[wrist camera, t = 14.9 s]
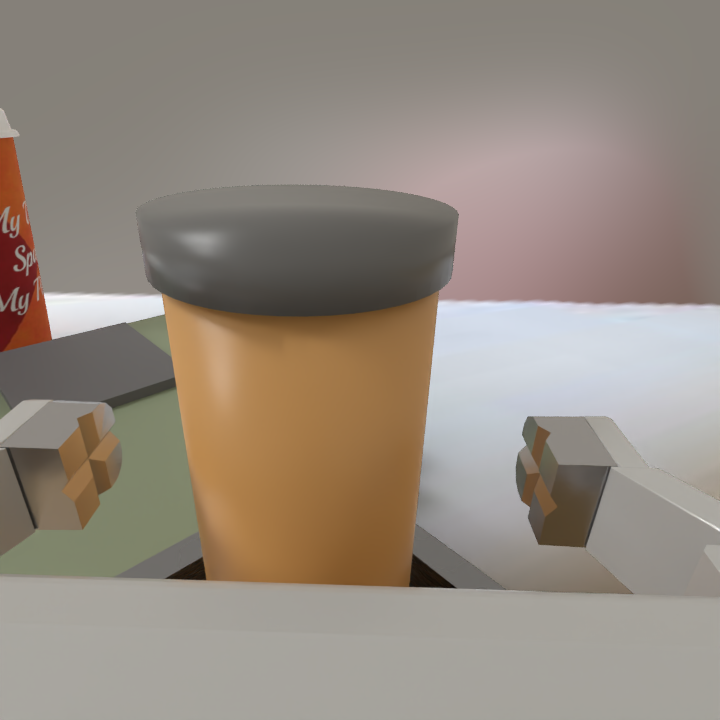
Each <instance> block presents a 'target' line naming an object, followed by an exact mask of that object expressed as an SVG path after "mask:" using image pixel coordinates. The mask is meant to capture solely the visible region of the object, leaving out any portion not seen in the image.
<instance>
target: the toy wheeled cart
mask: <svg viewBox="0 0 720 720" xmlns="http://www.w3.org/2000/svg"><path fill="white" fill-rule="evenodd" d="M31 399H37V400H54V401H55V400H63V401H82V402H102V403H107V404H108V405H109V406H110V407H112V411H113V415H114V418H115V424H114V425H113V427H112V428H111V430H110V432H111V433H112V434H113V435H114V436H116V437H117V438H118V439H119V440H120V444H121V448H122V465H121V469H120V473H119V476H118V478H117V480H116V481H115V483H114V485H113V486H112V488H110V489H108V490H107V491H105V492H103V493H102V494H100V495H98V497H99V501H100V505H99V507H98V508H97V510H96V511H95V513H94V514H93V516H92V517H91V519H90V520H89V521H88V523H87V524H86V526H85V527H84V529H83V530H35V531H36V532H35V533H34V534H32V535H31V536H29V537H28V538H26V539H25V540H24V541H22V542H21V543H19V544H18V545H16V546H15V547H13V548H12V549H11V550H9V551H8V552H6V553H5V554H3V555H2V556H0V574H24V575H55V576H86V577H115V576H117V575H119V574H120V573H122V572H124V571H126V570H128V569H130V568H131V567H133V566H135V565H137V564H139V563H141V562H143V561H144V560H146V559H148V558H150V557H152V556H154V555H156V554H157V553H159V552H161V551H163V550H165V549H167V548H168V547H170V546H172V545H174V544H176V543H178V542H180V541H181V540H183V539H185V538H187V537H189V536H191V535H192V534H194V533H196V532H198V531H199V529H198V522H197V516H196V510H195V503H194V497H193V490H192V484H191V477H190V471H189V465H188V458H187V452H186V445H185V439H184V433H183V426H182V420H181V413H180V407H179V400H178V394H177V388H176V381H175V375H174V368H173V362H172V355H171V349H170V343H169V336H168V330H167V323H166V317H165V315H161V316H156V317H152V318H148V319H144V320H140V321H136V322H132V323H126V322H125V323H121V324H117V325H112V326H108V327H104V328H100V329H96V330H92V331H87V332H83V333H79V334H75V335H71V336H66V337H62V338H58V339H54V340H50V341H46V342H41V343H37V344H33V345H29V346H25V347H21V348H16V349H12V350H8V351H4V352H0V419H1V418H3V417H4V416H5V415H6V414H7V413H9V412H10V411H11V410H12V409H13V408H15V407H16V406H17V405H18V404H19V403H21V402H22V401H24V400H31Z"/></svg>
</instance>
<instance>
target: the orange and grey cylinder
mask: <svg viewBox="0 0 720 720" xmlns="http://www.w3.org/2000/svg"><path fill="white" fill-rule="evenodd" d="M458 216H459V214H458V212H457V211H456V210H455V209H454V208H453V207H451V206H449V205H447V204H445V203H442V202H440V201H437V200H434V199H430V198H426V197H422V196H418V195H413V194H407V193H402V192H395V191H388V190H380V189H370V188H359V187H346V186H328V185H252V186H235V187H222V188H212V189H203V190H196V191H189V192H182V193H177V194H172V195H167V196H164V197H160V198H157V199H154V200H151V201H148V202H146V203H144V204H142V205H141V206H140V207H138V208H137V210H136V219H137V225H138V230H139V236H140V242H141V248H142V254H143V260H144V266H145V272H146V277H147V280H148V282H149V283H150V284H151V285H152V286H153V287H154V288H155V289H157V290H158V291H160V292H161V293H162V298H163V304H164V310H165V317H166V323H167V330H168V336H169V343H170V349H171V355H172V362H173V368H174V375H175V381H176V388H177V394H178V400H179V407H180V413H181V420H182V426H183V433H184V439H185V445H186V452H187V458H188V465H189V471H190V477H191V484H192V490H193V497H194V503H195V510H196V516H197V522H198V529H199V535H200V542H201V548H202V555H203V561H204V567H205V574H206V580H210V581H239V582H268V583H298V584H330V585H361V586H392V587H409V583H410V573H411V563H412V553H413V543H414V534H415V524H416V514H417V504H418V494H419V484H420V474H421V464H422V454H423V444H424V434H425V424H426V414H427V405H428V395H429V385H430V375H431V365H432V355H433V345H434V335H435V325H436V315H437V305H438V295H439V290H441V289H442V288H443V287H444V286H445V285H446V284H448V282H449V281H450V279H451V276H452V270H453V261H454V252H455V243H456V234H457V225H458Z"/></svg>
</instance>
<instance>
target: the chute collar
mask: <svg viewBox="0 0 720 720" xmlns="http://www.w3.org/2000/svg"><path fill="white" fill-rule="evenodd" d="M115 577H117V578H149V579H180V580H206V574H205V567H204V561H203V555H202V548H201V542H200V535H199V531H198V532H196V533H194V534H192V535H191V536H189V537H187V538H185V539H183V540H181V541H180V542H178V543H176V544H174V545H172V546H170V547H168V548H167V549H165V550H163V551H161V552H159V553H157V554H156V555H154V556H152V557H150V558H148V559H146V560H144V561H143V562H141V563H139V564H137V565H135V566H133V567H131V568H130V569H128V570H126V571H124V572H122V573H120V574H119V575H117V576H115ZM409 587H423V588H454V589H485V590H506V589H505V588H503V587H502V586H501V585H499V584H498V583H496V582H495V581H494V580H492V579H491V578H490V577H488V576H487V575H485V574H484V573H483V572H481V571H480V570H479V569H477V568H476V567H474V566H473V565H472V564H470V563H469V562H468V561H466V560H465V559H463V558H462V557H461V556H459V555H458V554H457V553H455V552H454V551H452V550H451V549H450V548H448V547H447V546H446V545H444V544H443V543H441V542H440V541H439V540H437V539H436V538H435V537H433V536H432V535H430V534H429V533H428V532H426V531H425V530H424V529H422V528H421V527H419V526H418V525H417V524H415V534H414V543H413V553H412V563H411V573H410V583H409Z"/></svg>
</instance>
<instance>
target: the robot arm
mask: <svg viewBox="0 0 720 720" xmlns="http://www.w3.org/2000/svg"><path fill="white" fill-rule="evenodd" d="M114 424H115V418H114V415H113V411H112V407H110V406H109V405H108V404H107V403H102V402H82V401H63V400H55V401H54V400H37V399H31V400H24V401H22V402H21V403H19V404H18V405H17V406H16V407H15V408H13V409H12V410H11V411H10V412H9V413H7V414H6V415H5V416H4V417H3V418H1V419H0V556H2V555H3V554H5V553H6V552H8V551H9V550H11V549H12V548H13V547H15V546H16V545H18V544H19V543H21V542H22V541H24V540H25V539H26V538H28V537H29V536H31V535H32V534H34V533H35V532H36V531H35V530H83V529H84V527H85V526H86V524H87V523H88V521H89V520H90V519H91V517H92V516H93V514H94V513H95V511H96V510H97V508H98V507H99V505H100V501H99V497H98V495H100V494H102V493H103V492H105V491H107V490H108V489H110V488H112V486H113V485H114V483H115V481H116V480H117V478H118V476H119V473H120V469H121V465H122V448H121V444H120V440H119V439H118V438H117V437H116V436H114V435H113V434H112V433H111V432H110V430H111V428H112V427H113V425H114ZM522 435H523V438H524V440H525V442H526V444H527V445H526V446H525V447H524V448H523V449H522V450H521V451H520V452H519V453H518V458H517V464H516V483H517V488H518V492H519V495H520V498H521V501H523V502H524V503H525V504H527V505H528V506H529V507H530V511H529V515H528V519H529V522H530V524H531V527H532V529H533V532H534V534H535V537H536V539H537V542H538V544H539V545H553V546H570V547H586V549H585V550H586V551H588V552H589V553H590V554H591V555H592V556H593V557H594V558H595V559H596V560H597V561H598V562H600V563H601V564H602V565H603V566H604V567H605V568H606V569H607V570H608V571H609V572H610V573H611V574H613V575H614V576H615V577H616V578H617V579H618V580H619V581H620V582H621V583H622V584H623V585H625V586H626V587H627V588H628V589H629V590H630V591H631V592H632V593H633V594H609V593H578V592H547V591H516V590H485V589H454V588H423V587H392V586H361V585H330V584H298V583H268V582H239V581H210V580H180V579H149V578H117V577H86V576H55V575H24V574H0V720H720V501H719V500H717V499H715V498H713V497H711V496H709V495H707V494H706V493H704V492H702V491H700V490H698V489H696V488H694V487H692V486H691V485H689V484H687V483H685V482H683V481H681V480H679V479H677V478H675V477H674V476H672V475H670V474H668V473H666V472H664V471H662V470H660V469H659V468H649V466H648V465H647V464H646V463H645V461H644V460H643V459H642V458H641V456H640V455H639V454H638V452H637V451H636V450H635V449H634V447H633V446H632V445H631V443H630V442H629V441H628V440H627V438H626V437H625V436H624V434H623V433H622V432H621V431H620V429H619V428H618V427H617V425H616V424H615V423H614V422H613V420H612V419H610V418H608V417H606V416H600V417H527V419H526V421H525V423H524V428H523V432H522Z"/></svg>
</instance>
